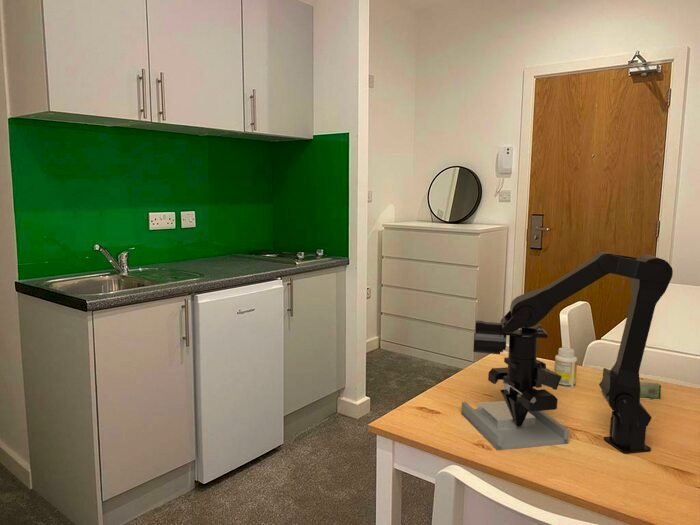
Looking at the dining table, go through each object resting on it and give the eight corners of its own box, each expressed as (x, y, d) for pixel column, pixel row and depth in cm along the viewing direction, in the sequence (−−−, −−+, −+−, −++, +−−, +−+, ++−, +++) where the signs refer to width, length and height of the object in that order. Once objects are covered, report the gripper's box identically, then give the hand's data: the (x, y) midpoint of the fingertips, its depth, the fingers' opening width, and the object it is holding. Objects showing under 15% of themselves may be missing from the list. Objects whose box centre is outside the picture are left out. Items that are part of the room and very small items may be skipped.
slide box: (568, 443, 112) (569, 430, 111) (497, 450, 109) (497, 436, 108) (523, 409, 129) (524, 397, 129) (461, 414, 126) (461, 402, 126)
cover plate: (535, 426, 118) (535, 417, 117) (497, 429, 116) (497, 420, 116) (512, 408, 127) (512, 400, 127) (477, 410, 126) (477, 402, 125)
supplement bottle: (566, 381, 149) (569, 345, 148) (580, 388, 144) (582, 351, 143) (549, 383, 148) (551, 347, 147) (561, 390, 142) (564, 352, 141)
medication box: (656, 398, 138) (658, 382, 138) (661, 401, 136) (662, 385, 136) (607, 393, 141) (608, 378, 140) (610, 396, 138) (611, 380, 138)
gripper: (583, 367, 106) (578, 442, 108) (533, 342, 125) (529, 406, 127) (532, 370, 104) (528, 447, 106) (488, 344, 122) (485, 409, 124)
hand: (518, 425), depth 116 cm, fingers closed
